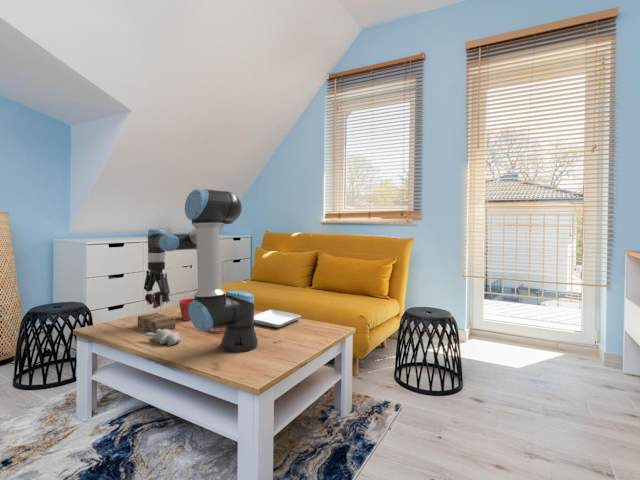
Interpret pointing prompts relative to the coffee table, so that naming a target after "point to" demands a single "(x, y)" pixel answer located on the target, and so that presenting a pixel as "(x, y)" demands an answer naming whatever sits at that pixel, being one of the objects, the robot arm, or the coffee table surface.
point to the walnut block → (156, 322)
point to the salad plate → (275, 318)
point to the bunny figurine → (165, 336)
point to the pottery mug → (155, 299)
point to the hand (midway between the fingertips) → (156, 306)
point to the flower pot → (185, 308)
